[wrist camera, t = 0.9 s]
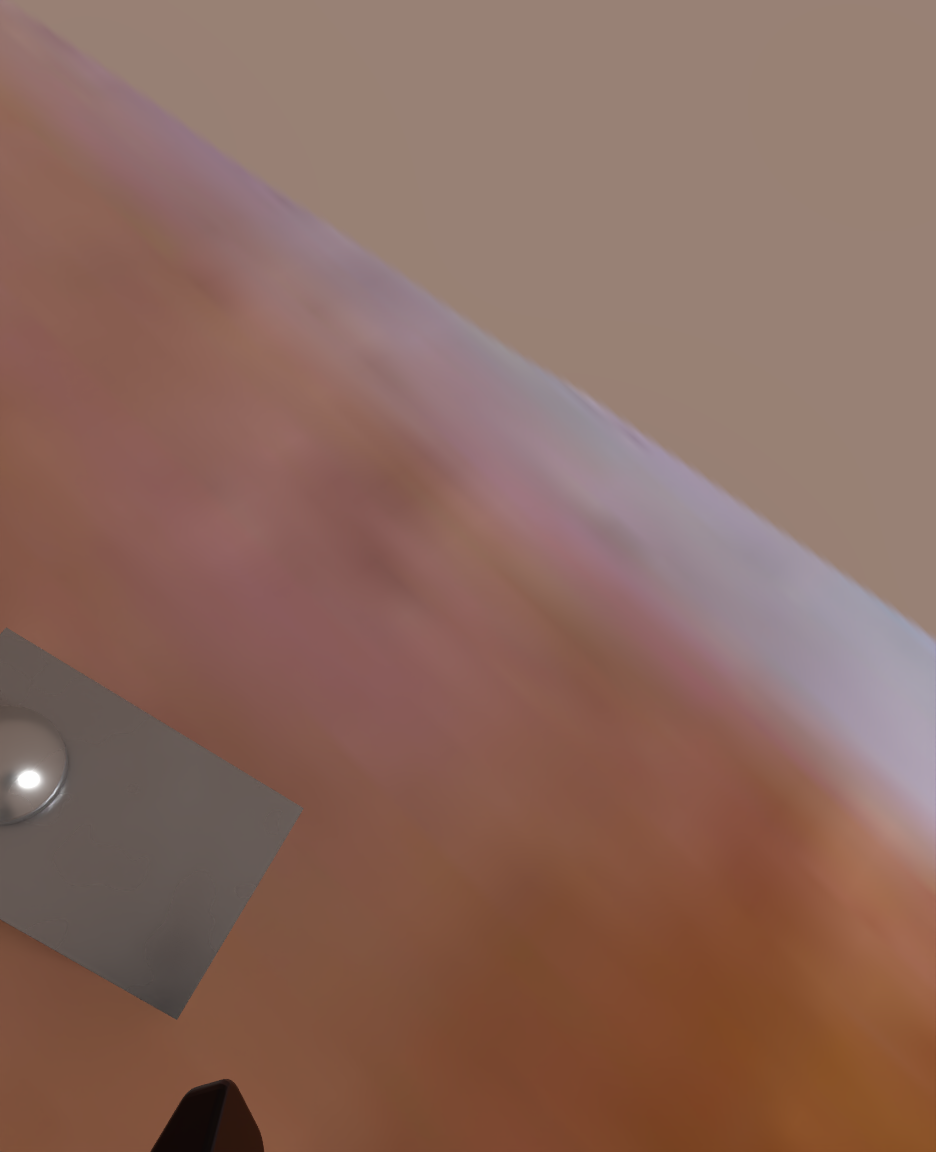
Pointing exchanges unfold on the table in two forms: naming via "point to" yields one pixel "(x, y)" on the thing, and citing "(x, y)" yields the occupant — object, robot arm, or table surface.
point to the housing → (122, 831)
